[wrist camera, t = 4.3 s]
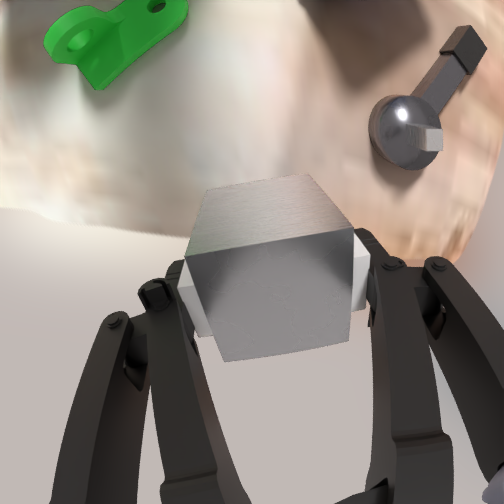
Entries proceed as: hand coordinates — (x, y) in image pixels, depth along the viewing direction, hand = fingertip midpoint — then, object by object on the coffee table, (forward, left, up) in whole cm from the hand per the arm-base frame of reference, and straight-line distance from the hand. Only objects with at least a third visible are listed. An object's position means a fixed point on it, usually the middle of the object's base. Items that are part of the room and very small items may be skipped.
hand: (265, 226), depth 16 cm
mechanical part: (-18, -9, -13) cm, 23 cm away
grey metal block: (0, 0, 0) cm, 0 cm away
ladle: (-3, +16, -12) cm, 20 cm away
